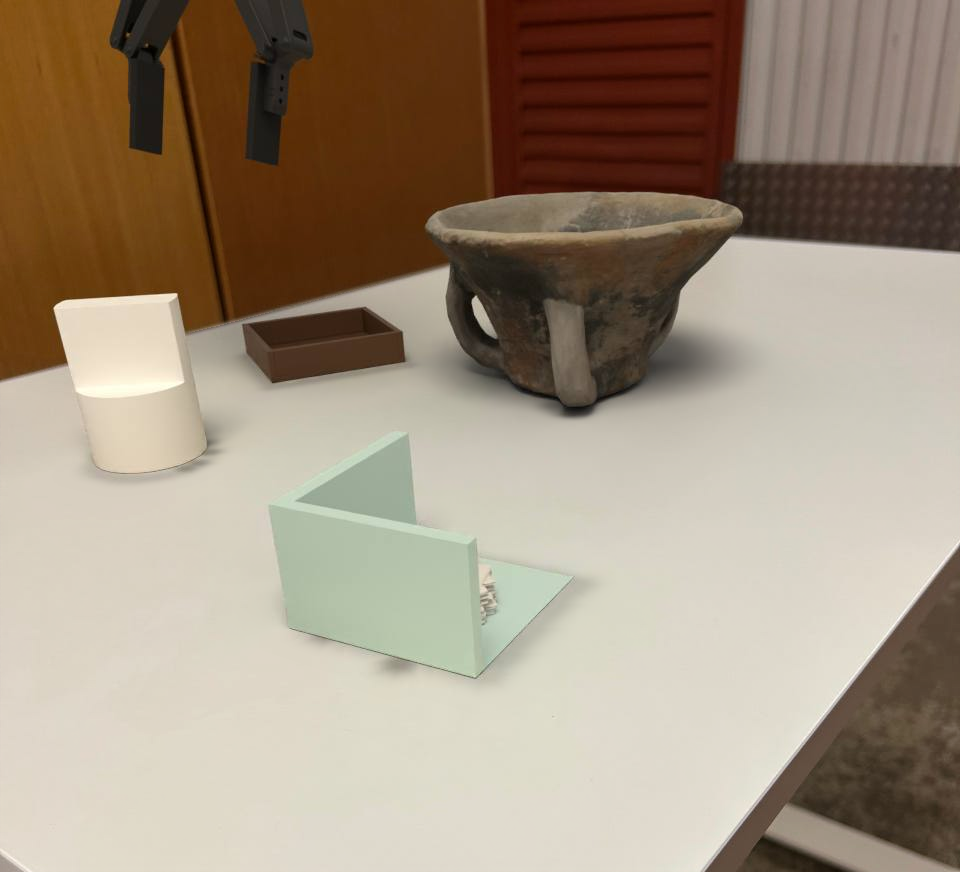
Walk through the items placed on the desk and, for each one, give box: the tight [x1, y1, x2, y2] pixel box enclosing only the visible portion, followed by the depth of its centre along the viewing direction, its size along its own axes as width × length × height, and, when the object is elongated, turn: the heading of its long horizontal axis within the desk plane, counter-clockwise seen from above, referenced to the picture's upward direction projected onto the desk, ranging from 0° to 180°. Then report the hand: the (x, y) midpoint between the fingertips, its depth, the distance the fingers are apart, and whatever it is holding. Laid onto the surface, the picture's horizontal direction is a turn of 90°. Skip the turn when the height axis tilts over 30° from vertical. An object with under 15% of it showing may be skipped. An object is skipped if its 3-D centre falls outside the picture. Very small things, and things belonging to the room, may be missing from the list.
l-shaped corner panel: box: [267, 430, 574, 679], centre depth 55 cm, size 12×12×8 cm
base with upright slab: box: [53, 292, 208, 474], centre depth 78 cm, size 9×9×12 cm
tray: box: [241, 306, 406, 384], centre depth 102 cm, size 14×13×3 cm
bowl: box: [424, 191, 744, 408], centre depth 89 cm, size 27×26×15 cm
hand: (201, 157), depth 79 cm, fingers open, 13 cm apart
